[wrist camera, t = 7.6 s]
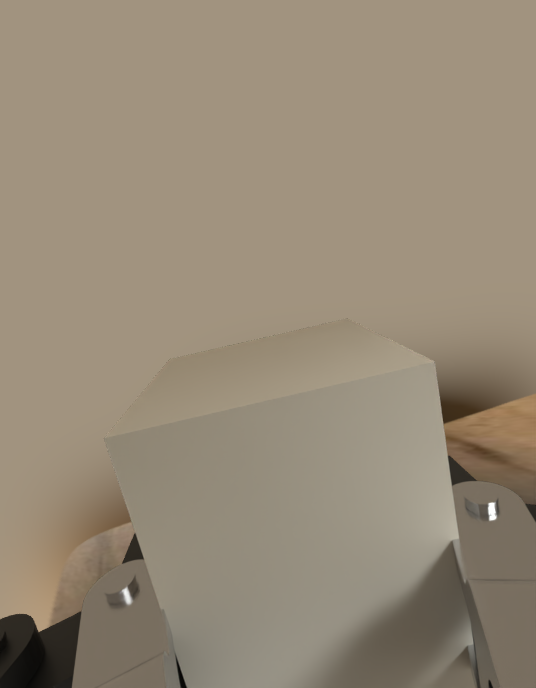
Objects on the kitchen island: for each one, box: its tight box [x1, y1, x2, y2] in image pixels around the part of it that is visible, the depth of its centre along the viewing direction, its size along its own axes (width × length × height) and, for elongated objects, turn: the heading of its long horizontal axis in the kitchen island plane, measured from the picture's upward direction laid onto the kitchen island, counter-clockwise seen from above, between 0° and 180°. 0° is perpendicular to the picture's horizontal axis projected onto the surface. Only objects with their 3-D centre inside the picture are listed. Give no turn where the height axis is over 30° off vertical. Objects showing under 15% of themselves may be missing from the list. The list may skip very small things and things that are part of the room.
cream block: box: [104, 319, 475, 688], centre depth 8 cm, size 4×4×10 cm
